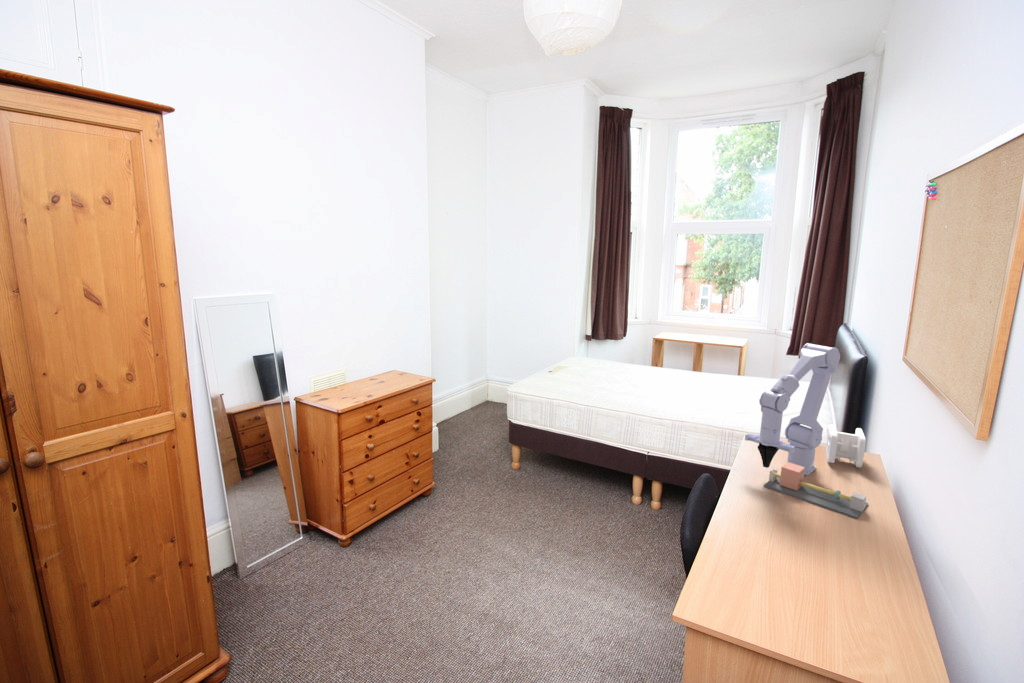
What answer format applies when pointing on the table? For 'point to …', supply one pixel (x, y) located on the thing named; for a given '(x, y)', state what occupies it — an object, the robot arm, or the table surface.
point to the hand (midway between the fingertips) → (766, 466)
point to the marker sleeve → (792, 475)
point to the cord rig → (821, 496)
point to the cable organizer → (845, 445)
